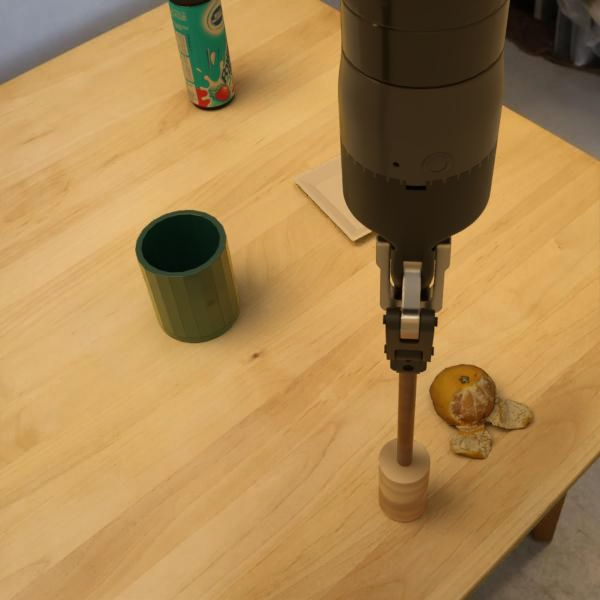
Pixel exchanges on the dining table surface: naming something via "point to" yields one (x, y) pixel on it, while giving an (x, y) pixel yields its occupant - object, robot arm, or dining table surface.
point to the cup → (189, 275)
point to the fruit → (474, 408)
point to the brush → (404, 461)
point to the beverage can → (203, 51)
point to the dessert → (331, 195)
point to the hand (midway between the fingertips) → (409, 335)
